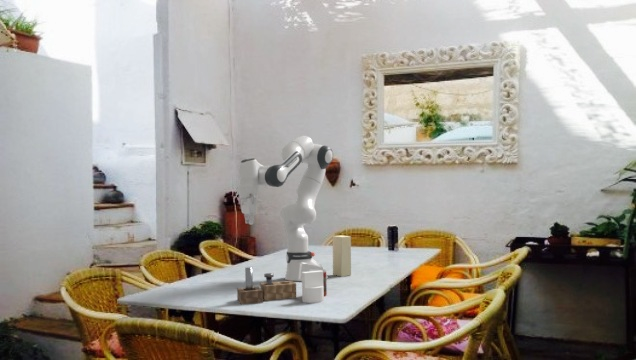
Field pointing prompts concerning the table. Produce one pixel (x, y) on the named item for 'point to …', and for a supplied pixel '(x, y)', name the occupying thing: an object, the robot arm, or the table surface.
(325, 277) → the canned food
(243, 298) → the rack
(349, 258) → the tall beige block
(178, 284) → the table surface
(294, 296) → the socket block
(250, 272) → the grey peg
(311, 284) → the cylinder with rectangular tab
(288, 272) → the robot arm
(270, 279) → the grey headed bolt
